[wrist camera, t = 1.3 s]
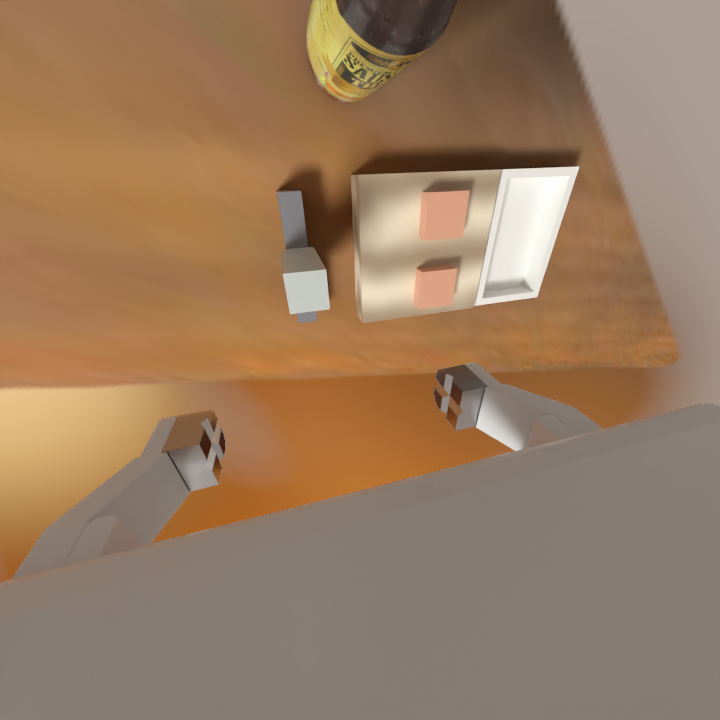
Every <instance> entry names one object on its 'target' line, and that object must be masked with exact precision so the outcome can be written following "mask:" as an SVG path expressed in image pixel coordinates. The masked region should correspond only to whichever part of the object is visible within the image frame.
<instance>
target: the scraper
mask: <svg viewBox="0 0 720 720" xmlns="http://www.w3.org/2000/svg"><path fill="white" fill-rule="evenodd" d="M277 196H278V202H279V208H280V214H281V220H282V226H283V232H284V238H285V244H286V249H281V259H282V270H283V278H284V283H285V289H286V294H287V300H288V306H289V311H290V314H296V313H297V317H298V323H303V322H310V321H317V315H316V311H319V310H327V309H330V305H329V294H328V283H327V273H326V268H325V266H324V265H323V263H322V261H321V259H320V257H319V256H318V254H317V252H316V250H315V248H314V247H308V242H307V234H306V226H305V218H304V210H303V202H302V194H301V191H300V190H282V191H277Z"/></svg>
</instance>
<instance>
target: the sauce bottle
mask: <svg viewBox="0 0 720 720" xmlns="http://www.w3.org/2000/svg"><path fill="white" fill-rule="evenodd" d="M456 1H457V0H313V1H312V4H311V7H310V11H309V17H308V22H307V31H306V35H307V39H306V42H307V43H306V45H307V58H308V62H309V67H310V70H311V72H312V75H313V77H314V79H315V81H316V82H317V84H318V85H319V87H320V88H321V89H322V90H323V91H324V92H325V93H326V95H327V96H329V97H330V98H332V99H335V100H337V101H341V102H346V103H349V102H357V101H361V100H363V99H365V98H367V97H369V96H370V95H371V94H372V93H374V92H375V91H376V90H377V89H379V88H380V87H381V86H382V85H384V84H385V83H386V82H387V81H389V80H390V79H391V78H392V77H393V76H395V75H396V74H397V73H399V72H400V71H401V70H403V69H404V68H405V67H406V66H407V65H408V64H409V63H411V62H412V61H413V60H415V59H416V58H417V57H418V56H420V55H421V54H422V53H423V52H425V51H426V50H427V49H428V48H429V47H431V46H432V45H433V44H434V43H435V42H436V41H437V40H438V39H439V37H440V36H441V35H442V33H443V32H444V30H445V28H446V26H447V24H448V22H449V19H450V17H451V14H452V11H453V9H454V6H455V3H456Z"/></svg>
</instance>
